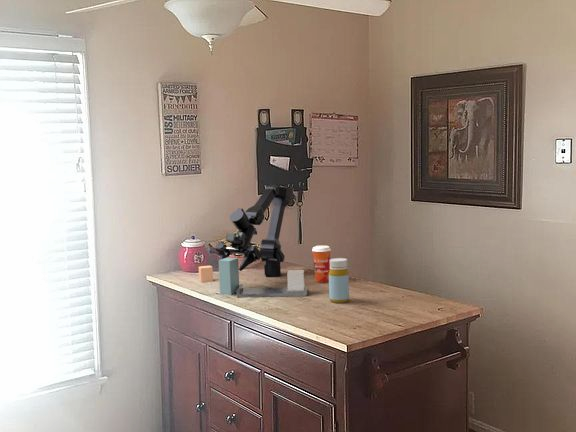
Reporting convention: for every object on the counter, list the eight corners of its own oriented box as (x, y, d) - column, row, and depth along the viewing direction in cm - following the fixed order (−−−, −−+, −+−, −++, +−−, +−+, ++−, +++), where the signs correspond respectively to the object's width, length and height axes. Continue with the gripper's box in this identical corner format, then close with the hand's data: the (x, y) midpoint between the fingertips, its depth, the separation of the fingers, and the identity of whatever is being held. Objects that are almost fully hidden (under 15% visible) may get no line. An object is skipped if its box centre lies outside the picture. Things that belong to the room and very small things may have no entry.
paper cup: (310, 282, 278) (309, 248, 276) (316, 278, 285) (315, 244, 283) (328, 283, 275) (327, 248, 273) (334, 279, 282) (333, 245, 281)
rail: (236, 297, 257) (235, 275, 256) (240, 291, 267) (239, 270, 266) (306, 296, 255) (305, 274, 254) (307, 289, 265) (306, 268, 264)
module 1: (210, 279, 291) (210, 265, 290) (213, 281, 287) (212, 267, 286) (199, 280, 289) (198, 266, 288) (201, 282, 285) (200, 268, 284)
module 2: (228, 290, 269) (226, 257, 268) (239, 291, 267) (238, 258, 265) (219, 293, 264) (217, 260, 263) (230, 294, 262) (229, 261, 260)
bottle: (351, 299, 249) (350, 258, 247) (346, 303, 242) (345, 261, 240) (332, 298, 251) (331, 257, 249) (327, 302, 244) (326, 261, 242)
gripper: (216, 223, 272) (200, 256, 264) (256, 225, 263) (241, 258, 255) (228, 240, 280) (213, 272, 272) (267, 242, 271) (253, 275, 263)
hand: (229, 269), depth 265 cm, fingers open, 9 cm apart
